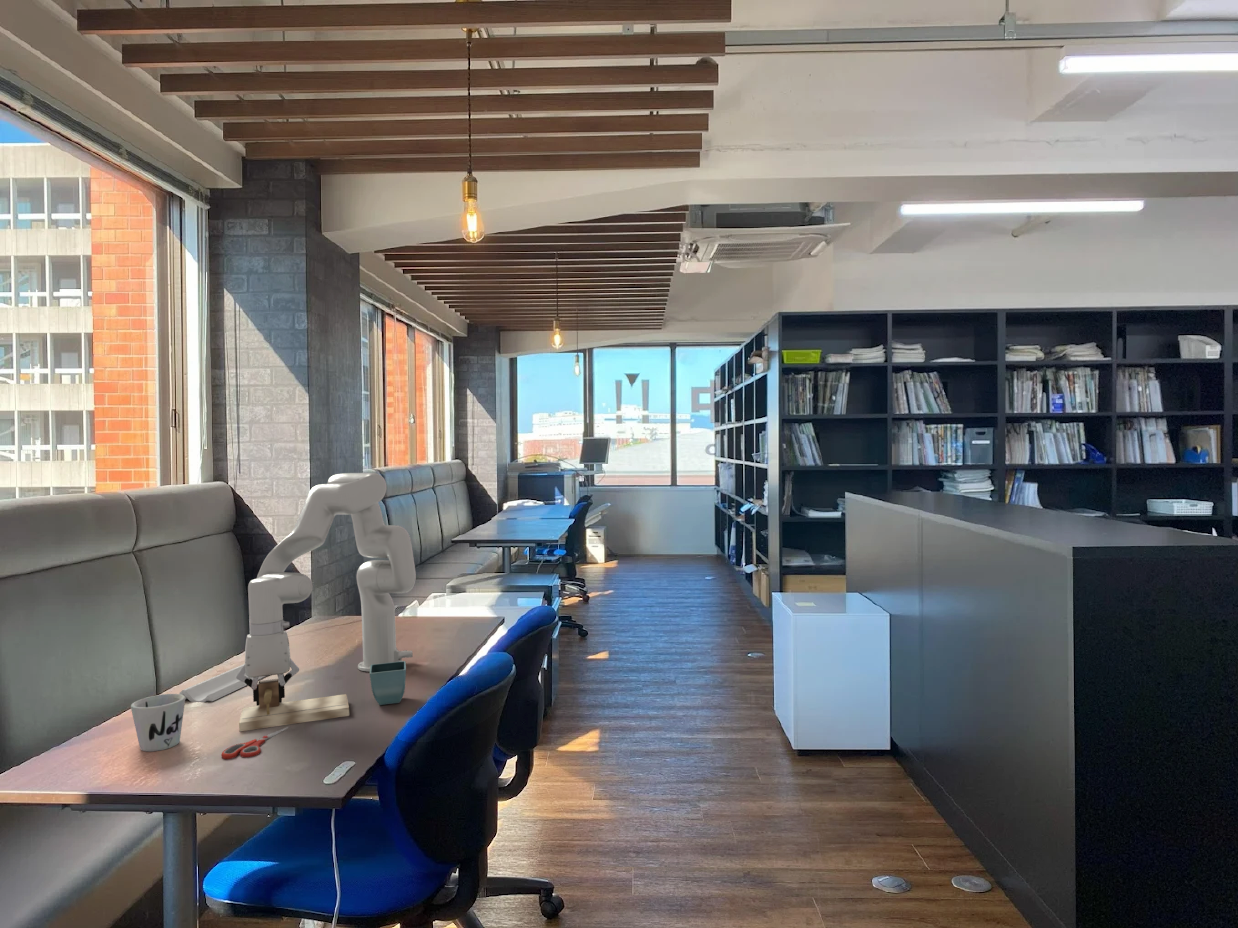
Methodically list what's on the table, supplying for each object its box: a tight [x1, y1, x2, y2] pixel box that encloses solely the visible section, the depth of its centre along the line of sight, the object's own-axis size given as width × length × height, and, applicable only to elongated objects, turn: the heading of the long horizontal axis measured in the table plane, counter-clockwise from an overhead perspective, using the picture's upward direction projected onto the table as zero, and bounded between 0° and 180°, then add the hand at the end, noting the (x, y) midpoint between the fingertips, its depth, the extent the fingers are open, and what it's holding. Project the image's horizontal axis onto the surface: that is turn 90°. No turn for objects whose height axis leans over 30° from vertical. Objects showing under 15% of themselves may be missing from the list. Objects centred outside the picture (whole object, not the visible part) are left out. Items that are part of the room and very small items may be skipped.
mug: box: [130, 693, 186, 753], centre depth 176 cm, size 10×15×10 cm
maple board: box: [238, 693, 350, 732], centre depth 193 cm, size 24×12×2 cm, turn 112°
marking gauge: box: [258, 678, 279, 715], centre depth 191 cm, size 4×13×8 cm, turn 22°
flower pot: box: [368, 660, 407, 706], centre depth 202 cm, size 9×9×9 cm
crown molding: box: [178, 663, 267, 703], centre depth 223 cm, size 31×12×4 cm, turn 170°
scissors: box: [221, 726, 290, 760], centre depth 176 cm, size 8×21×2 cm, turn 179°
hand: (269, 701), depth 195 cm, fingers closed on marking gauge, 4 cm apart
